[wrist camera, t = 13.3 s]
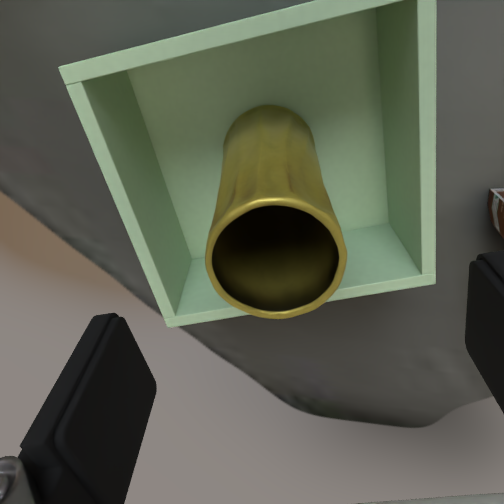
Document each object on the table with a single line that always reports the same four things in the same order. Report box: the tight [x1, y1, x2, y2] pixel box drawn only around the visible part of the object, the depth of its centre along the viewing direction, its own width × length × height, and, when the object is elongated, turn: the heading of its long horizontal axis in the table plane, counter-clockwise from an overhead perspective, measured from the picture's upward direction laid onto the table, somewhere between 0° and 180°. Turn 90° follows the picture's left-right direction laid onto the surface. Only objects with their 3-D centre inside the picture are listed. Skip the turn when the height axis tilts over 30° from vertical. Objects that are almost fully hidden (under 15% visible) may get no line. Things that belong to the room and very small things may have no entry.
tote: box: [58, 0, 436, 328], centre depth 24 cm, size 16×17×8 cm
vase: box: [205, 105, 347, 319], centre depth 21 cm, size 6×6×14 cm
